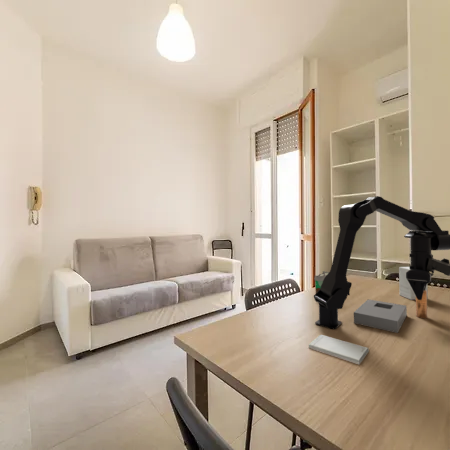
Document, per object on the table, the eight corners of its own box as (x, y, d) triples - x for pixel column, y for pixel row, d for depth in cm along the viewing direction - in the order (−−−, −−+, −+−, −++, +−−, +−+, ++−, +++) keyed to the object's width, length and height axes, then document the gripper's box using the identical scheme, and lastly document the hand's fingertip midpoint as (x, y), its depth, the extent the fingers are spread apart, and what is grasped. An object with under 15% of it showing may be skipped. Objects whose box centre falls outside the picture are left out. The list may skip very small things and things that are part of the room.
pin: (426, 319, 86) (426, 292, 86) (415, 316, 88) (415, 290, 88) (427, 316, 88) (427, 290, 88) (416, 314, 90) (416, 288, 90)
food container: (329, 301, 107) (329, 277, 107) (314, 298, 111) (314, 275, 111) (337, 294, 117) (336, 272, 117) (323, 292, 121) (323, 270, 121)
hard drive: (368, 347, 66) (321, 333, 74) (359, 360, 60) (308, 343, 68) (368, 353, 66) (321, 339, 74) (359, 367, 60) (308, 349, 68)
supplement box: (428, 299, 106) (428, 269, 106) (410, 300, 106) (410, 269, 106) (415, 294, 114) (415, 266, 114) (398, 295, 114) (398, 266, 114)
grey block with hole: (397, 332, 76) (397, 321, 76) (353, 322, 84) (353, 312, 84) (406, 315, 89) (406, 305, 89) (368, 308, 98) (368, 299, 97)
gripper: (451, 255, 76) (451, 308, 76) (452, 249, 89) (452, 294, 90) (405, 253, 83) (406, 301, 83) (413, 248, 97) (413, 289, 97)
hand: (421, 296), depth 88 cm, fingers open, 9 cm apart
